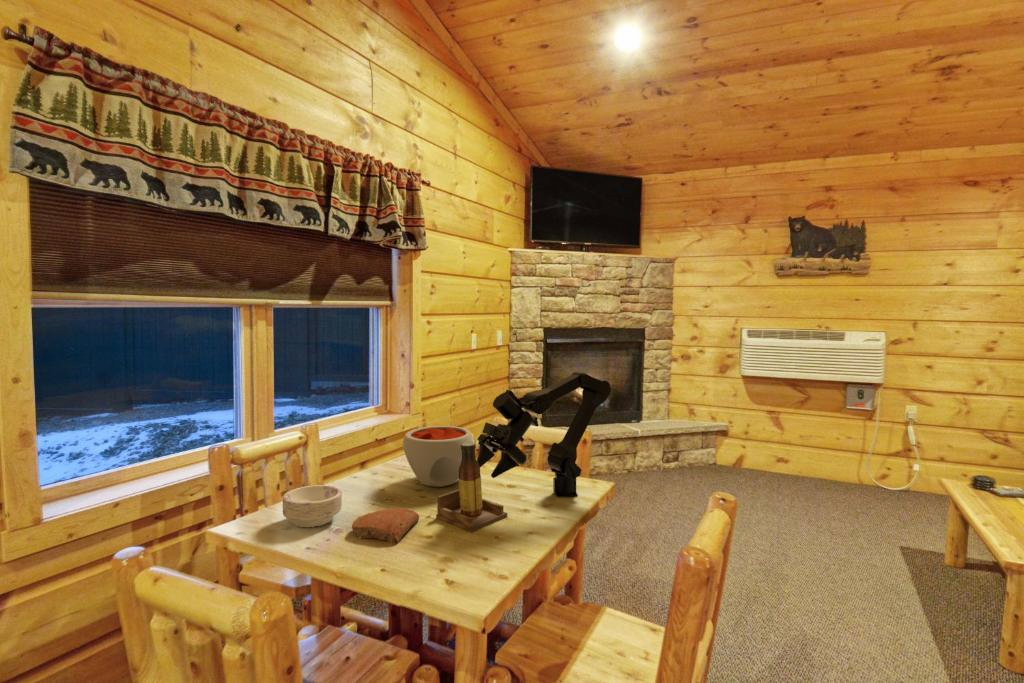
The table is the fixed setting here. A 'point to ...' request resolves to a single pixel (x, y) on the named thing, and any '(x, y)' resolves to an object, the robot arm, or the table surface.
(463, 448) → the sauce bottle
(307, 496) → the beige round bowl
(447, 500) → the brown wooden tray
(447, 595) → the table surface
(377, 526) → the brown rounded slab
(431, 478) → the pot
